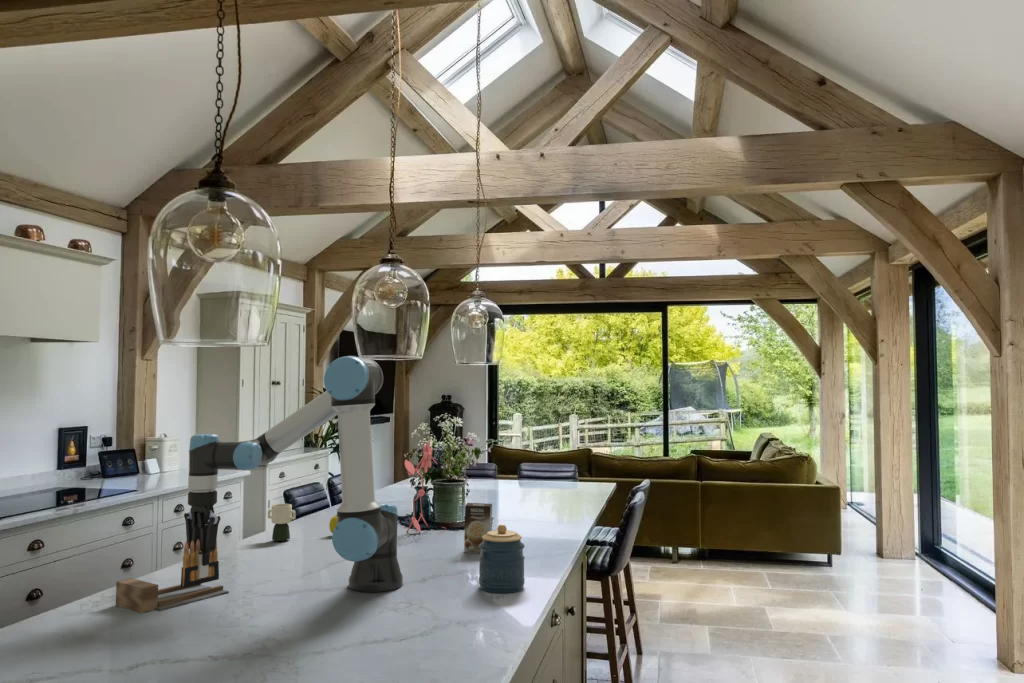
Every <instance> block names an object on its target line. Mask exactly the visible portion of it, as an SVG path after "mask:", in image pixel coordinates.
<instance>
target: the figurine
mask: <svg viewBox="0 0 1024 683" xmlns="http://www.w3.org/2000/svg"><path fill="white" fill-rule="evenodd" d="M422 452H423V454H422V458H421V459H420V461H419V462H418V464H417V466H416V467H415V466H414V465H413V463H412V462H410V461H409V460H408V459H405V460H404V467H405V469H406V470H407V475H408V476H409V477H410V476H411V475H412V476H413V477H414V476H415V472H416V473H417V474H418V475H419V476H420V477H421V489H419V490H418V491H417V494H418V496H417V497H416V498H415V499H414V500H413V501H412V502H413V503H412V504H413V507H412V508H413V516H411V522H410V525H409V526H408V528H407V530H406V533H409V532H410V529H411V526H412V525H413V528H414V529H415V530H416V531H417V532H418V533H419V534H421V526H420V524H419V522H420V521H421V519H422V521H423V523H424V524H425V525H426V527H427V528H429V526H428V525H429V524H428V523H427V522H426V520H425V518H424V515H423V508H422V507H423V506H422V497H423V496H425V494H426V492H425V490H424V476H423V475H422V474H421V473H420V472H421V470H422V469H423V468H424V469H423V470H424V471H423V472H424V474H426V473H428V471H429V470H428V468H429V469H431V468H432V460H433V462H434V463H435V464H436V465H438V462H437V461H436V460H435V459H434V457H433V456H432V455H433V446H431V442H430V441H428V442H427V443H426V445H423V448H422ZM418 468H419V469H418ZM419 471H420V472H419ZM418 499H419V501H420V511H421V512H420V513H419V515H420V516H419V517H418V518H416V517H415V501H417V500H418ZM417 519H418V520H417ZM442 528H444V529H445V531H442V532H441V534H442V533H444V532H446V530H447V528H446V527H443V526H442ZM437 534H438V535H439V534H440V532H438V533H437Z"/></svg>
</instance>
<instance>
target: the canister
mask: <svg viewBox="0 0 1024 683" xmlns="http://www.w3.org/2000/svg"><path fill="white" fill-rule="evenodd" d="M522 538H523V537H522V535H520V534H519V533H518V532H517V531H515V530H509V529H508V530H507V526H506V525H505V524H502V523H501V524H499V525H498V526H497V529H496V530H492V531H489V532H487V534H485V535H483V536H482V539H484V540H483V542H482V543H480V544H479V547H480V549H481V553H480V555H479V556H478V560H479V566H478V569H479V572H478V573H479V576H478V585H479V589H480V590H482V591H484V592H488V593H495V594H509V593H510V594H511V593H515V592H519V591H522V590H523V589H524V586H525V559H526V558H525V556H524V548H525V547H526V546H525V544H524V543H523V542H522V541H521V539H522Z"/></svg>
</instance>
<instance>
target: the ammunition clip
mask: <svg viewBox="0 0 1024 683" xmlns="http://www.w3.org/2000/svg"><path fill="white" fill-rule="evenodd" d="M217 539H218V538H217ZM217 539H216V548H215V551H212V552H210V555H209V568H208V577H204V578H198V556H199V553H198V552H200V542H199V539H198V540H197V542H196V550H195V547H194V542H193V540H192V541H191V545H190V549H189V546H188V542H187V540H186V541H185V543H184V548H183V557H182V567H181V574H180V584H181V587H189V586H193V585H197V584H201V585H203V584H206V583H209V582H212V581H218V580H219V579H220V570H219V568H220V567H219V566H220V565H219V562H220V561H219V560H218V559H219V558H218V554H219V551H218V540H217Z"/></svg>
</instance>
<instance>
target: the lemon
mask: <svg viewBox="0 0 1024 683" xmlns="http://www.w3.org/2000/svg"><path fill="white" fill-rule="evenodd" d="M328 525H329V526H328V527H329V530H330V532H331V533H332V534H333V531H334V529H335V527H336V525H337V514H335V515H334V516H332V517H331V518H330V521H329V524H328Z"/></svg>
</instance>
